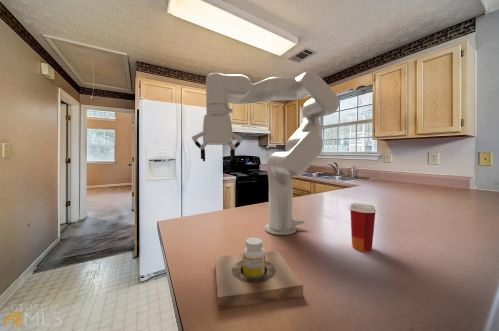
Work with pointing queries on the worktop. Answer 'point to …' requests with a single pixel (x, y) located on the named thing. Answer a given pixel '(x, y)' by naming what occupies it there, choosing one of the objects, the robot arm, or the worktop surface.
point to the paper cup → (362, 226)
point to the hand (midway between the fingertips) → (218, 161)
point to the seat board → (254, 282)
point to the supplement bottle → (253, 258)
